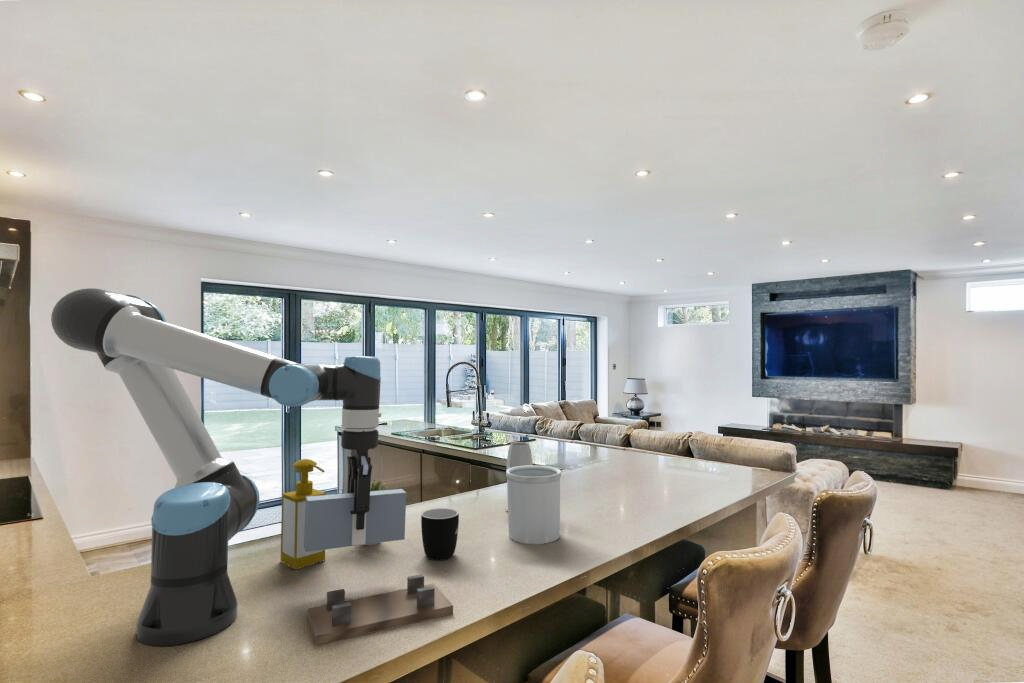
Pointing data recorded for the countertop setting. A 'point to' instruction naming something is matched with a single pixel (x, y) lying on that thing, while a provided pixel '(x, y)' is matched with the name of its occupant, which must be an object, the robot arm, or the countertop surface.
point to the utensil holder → (533, 503)
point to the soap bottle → (298, 519)
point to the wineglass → (519, 455)
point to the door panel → (334, 522)
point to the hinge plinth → (376, 611)
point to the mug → (439, 532)
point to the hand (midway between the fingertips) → (356, 540)
